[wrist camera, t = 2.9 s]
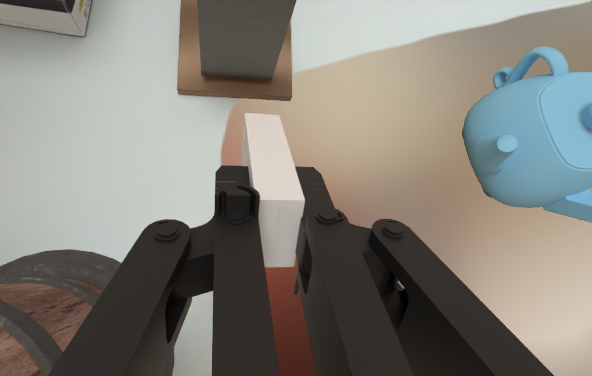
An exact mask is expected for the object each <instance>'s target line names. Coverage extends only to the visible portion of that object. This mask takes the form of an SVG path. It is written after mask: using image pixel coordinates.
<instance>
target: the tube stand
mask: <svg viewBox="0 0 592 376" xmlns="http://www.w3.org/2000/svg"><path fill="white" fill-rule="evenodd" d="M177 90H178V94H186V95H202V96H218V97H233V98H249V99H266V100H281V101H290V100H291V98H292V74H291V28H290V22H289V26H288V29H287V32H286V35H285V39H284V42H283V45H282V48H281V52H280V55H279V58H278V61H277V65H276V68H275V71H274V74H273V78H272V81H269V80H255V79H242V78H228V77H214V76H201V62H200V44H199V27H198V9H197V0H181V11H180V35H179V60H178V85H177Z"/></svg>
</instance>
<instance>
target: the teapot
mask: <svg viewBox="0 0 592 376" xmlns="http://www.w3.org/2000/svg"><path fill="white" fill-rule="evenodd" d="M539 57H542V58H543V59H545V60H546V61H547V63H548V64H549V66H550V69H551V71H552V74H546V75H539V76H534V77H529V78H525V79H522V78H523V76H524V75H525V73H526V72H527V71H528V69H529V68H530V66H531V65H532V64H533V62H534V61H535V60H536V59H538V58H539ZM506 75H507V77H508V79H506ZM493 79H494V80H493V82H494V87H495V88H496V90H495V91H493V92H491V93H490V94H488V95H486V96H484V97H483V98H482V99H480V100H479V101H478V102H477V103H476V104H475V105H474V106H473V107H472V108H471V109H470V111H469V112H468V113H467V116H466V118H465V122H464V128H463V131H462V136H463V139H464V143H465V147H466V150H467V154H468V156H469V160H470V162H471V165H472V168H473V170H474V172H475V174H476V176H477V178H478V180H479V182H480V184H481V186H482V188H483V191H484V193H485V194H486V195H487V196H489V197H492V198H494V199H496V200H498V201H499V202H501V203H503V204H507V205H509V206H515V207H528V208H530V207H540V206H543V208H544V210H547V211H550V212H554V213H558V214H562V215H566V216H569V217H573V218H577V219H580V220H584V221H588V222H592V193H591V192H590V190H589V188H590V187H592V73H591V72H570V73H569V69H568V64H567V62H566V59H565V58H564V56H563V55H562V54H561V53H560V52H559V51H557V50H556V49H554V48H551V47H539V48H536V49H534V50H532V51H530V52H528V53H527V54H526V55H525V56H524V57H523V58H522V59H521V60H520V62H519V63H518V64H517V66H516V67H515V69H512V68H510V67H503V68H501V69H499V70H498V71H497V72H496V73H495V75H494V78H493ZM521 79H522V80H521Z"/></svg>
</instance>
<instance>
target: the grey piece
mask: <svg viewBox="0 0 592 376" xmlns="http://www.w3.org/2000/svg"><path fill="white" fill-rule="evenodd" d="M295 3H296V0H197V9H198V27H199V44H200V62H201V76H214V77H228V78H242V79H255V80H269V81H272V78H273V74H274V71H275V68H276V65H277V61H278V58H279V55H280V52H281V48H282V45H283V42H284V39H285V35H286V32H287V29H288V26H289V22H290V19H291V16H292V13H293V9H294V6H295Z"/></svg>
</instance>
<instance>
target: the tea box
mask: <svg viewBox="0 0 592 376" xmlns="http://www.w3.org/2000/svg"><path fill="white" fill-rule="evenodd" d="M90 5H91V0H0V24H4V25H10V26H17V27H23V28H29V29H36V30H42V31H49V32H55V33H61V34H69V35H76V36H85V31H86V26H87V21H88V15H89V10H90Z"/></svg>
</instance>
